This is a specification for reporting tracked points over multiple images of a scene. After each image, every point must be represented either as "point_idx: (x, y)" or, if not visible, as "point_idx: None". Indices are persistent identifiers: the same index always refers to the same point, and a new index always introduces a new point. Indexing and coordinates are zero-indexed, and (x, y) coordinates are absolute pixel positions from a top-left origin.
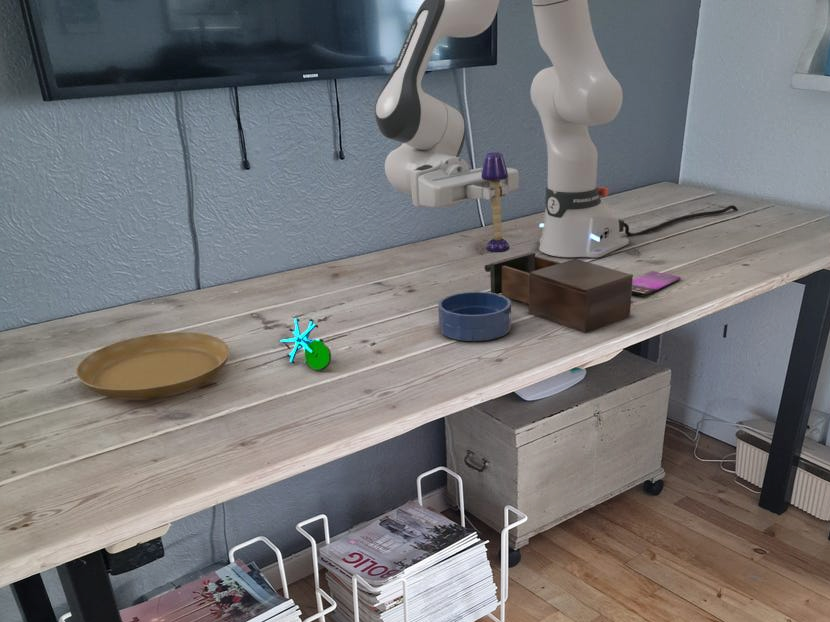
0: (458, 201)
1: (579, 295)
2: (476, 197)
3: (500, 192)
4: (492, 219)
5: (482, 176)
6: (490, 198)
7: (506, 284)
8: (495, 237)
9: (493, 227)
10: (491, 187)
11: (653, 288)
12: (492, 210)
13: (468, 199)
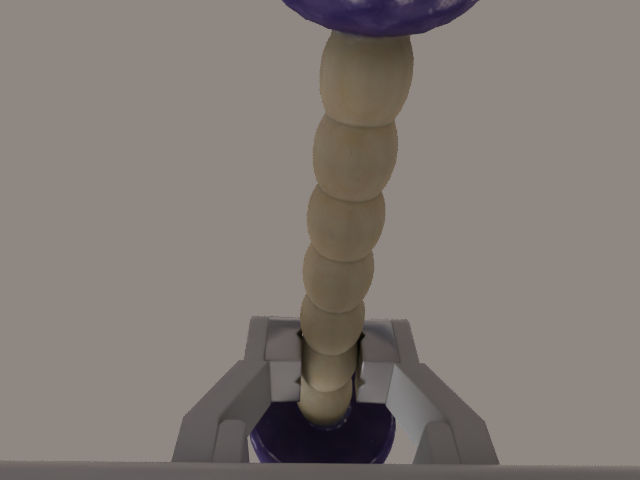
0: (55, 465)
1: None
2: (212, 393)
3: (358, 340)
4: (307, 213)
5: (250, 437)
6: (264, 316)
7: None
8: (323, 55)
9: (314, 151)
10: (305, 381)
11: None
12: (303, 268)
13: (180, 463)
